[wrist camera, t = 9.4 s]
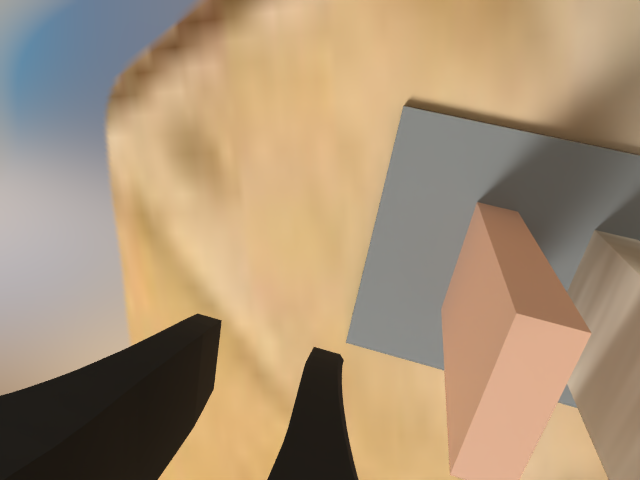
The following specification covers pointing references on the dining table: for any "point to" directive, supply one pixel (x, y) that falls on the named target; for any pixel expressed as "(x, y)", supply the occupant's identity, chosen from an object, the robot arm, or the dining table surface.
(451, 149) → the slate runway mat
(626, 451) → the wooden block
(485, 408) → the terracotta domino
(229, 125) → the dining table surface
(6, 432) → the robot arm
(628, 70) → the dining table surface
